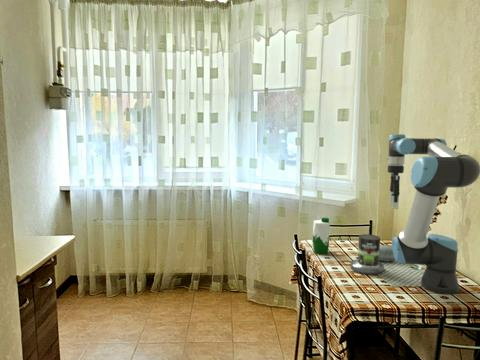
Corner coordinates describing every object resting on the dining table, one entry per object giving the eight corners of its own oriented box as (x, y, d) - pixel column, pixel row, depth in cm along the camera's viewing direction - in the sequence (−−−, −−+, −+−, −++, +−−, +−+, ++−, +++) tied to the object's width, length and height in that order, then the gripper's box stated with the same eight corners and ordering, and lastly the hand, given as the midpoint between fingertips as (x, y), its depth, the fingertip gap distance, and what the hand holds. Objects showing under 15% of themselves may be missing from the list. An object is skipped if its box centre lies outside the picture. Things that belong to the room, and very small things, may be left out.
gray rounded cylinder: (396, 251, 209) (394, 238, 204) (401, 264, 201) (399, 251, 196) (370, 255, 212) (368, 242, 207) (374, 268, 205) (372, 255, 199)
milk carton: (329, 254, 214) (331, 219, 212) (313, 254, 214) (314, 219, 212) (326, 249, 223) (328, 216, 220) (311, 249, 223) (312, 216, 221)
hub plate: (390, 272, 187) (391, 266, 186) (366, 276, 180) (366, 271, 180) (367, 262, 201) (367, 257, 201) (343, 266, 194) (344, 261, 194)
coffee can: (379, 268, 184) (381, 240, 182) (357, 266, 187) (358, 238, 185) (378, 261, 193) (379, 235, 192) (357, 259, 196) (358, 233, 195)
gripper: (385, 163, 203) (383, 202, 206) (390, 166, 180) (387, 210, 182) (400, 163, 201) (398, 202, 203) (407, 166, 177) (404, 211, 180)
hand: (393, 206), depth 193 cm, fingers open, 13 cm apart
